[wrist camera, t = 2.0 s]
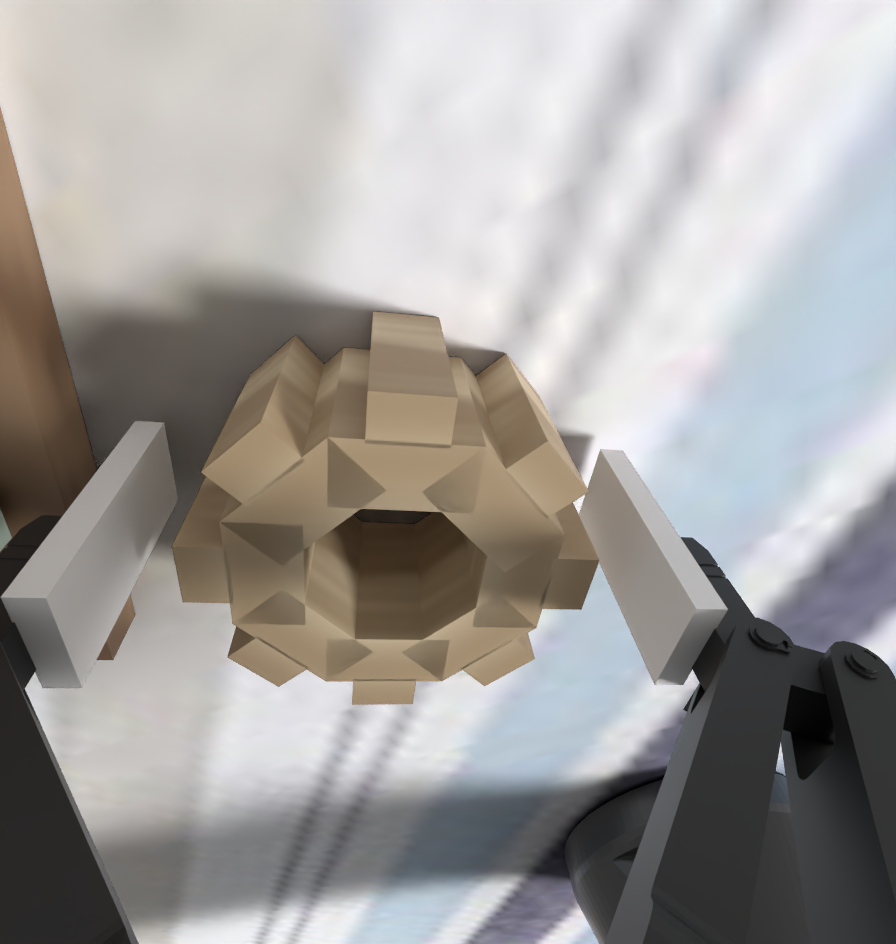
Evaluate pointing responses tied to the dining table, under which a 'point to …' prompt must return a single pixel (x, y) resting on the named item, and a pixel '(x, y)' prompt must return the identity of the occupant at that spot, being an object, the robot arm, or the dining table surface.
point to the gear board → (36, 386)
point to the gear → (3, 532)
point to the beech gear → (386, 544)
